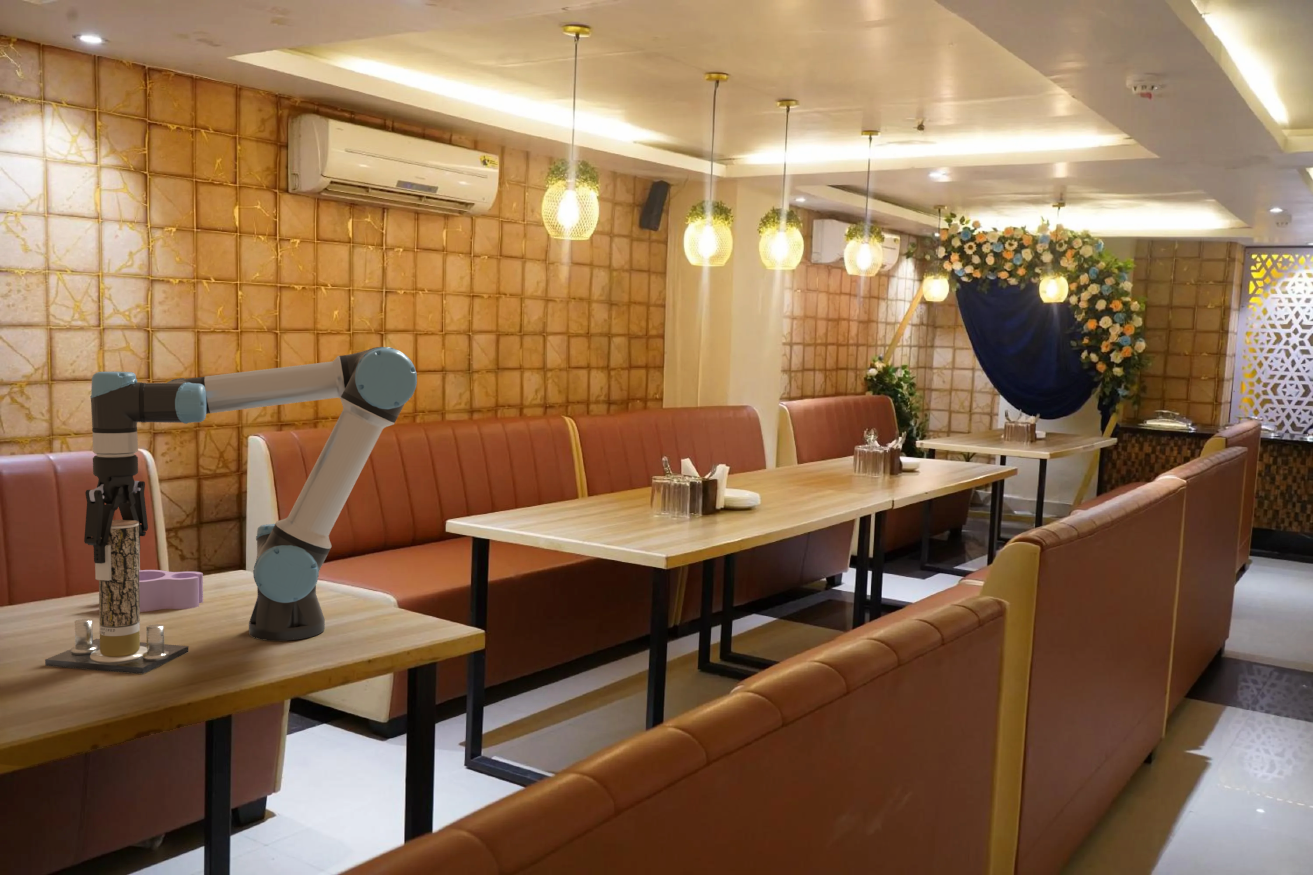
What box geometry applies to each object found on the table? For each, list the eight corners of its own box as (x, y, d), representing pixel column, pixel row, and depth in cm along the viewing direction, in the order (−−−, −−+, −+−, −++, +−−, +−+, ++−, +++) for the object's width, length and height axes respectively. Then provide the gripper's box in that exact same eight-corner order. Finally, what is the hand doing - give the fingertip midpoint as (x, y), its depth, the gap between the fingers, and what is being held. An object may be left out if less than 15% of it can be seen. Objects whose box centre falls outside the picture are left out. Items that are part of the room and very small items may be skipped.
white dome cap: (160, 648, 206) (160, 647, 206) (126, 664, 196) (126, 662, 196) (113, 645, 207) (113, 643, 207) (77, 660, 198) (77, 658, 198)
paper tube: (123, 659, 198) (122, 526, 195) (91, 656, 199) (89, 524, 197) (147, 649, 204) (146, 521, 202) (116, 646, 206) (115, 518, 203)
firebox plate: (188, 652, 208) (188, 646, 208) (142, 674, 194) (142, 667, 194) (96, 644, 211) (96, 638, 211) (45, 665, 198) (45, 659, 198)
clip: (207, 598, 250) (207, 569, 250) (193, 611, 238) (193, 581, 237) (117, 599, 247) (116, 570, 246) (98, 613, 235) (97, 582, 234)
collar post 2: (173, 654, 202) (172, 624, 202) (159, 661, 198) (158, 630, 197) (152, 653, 203) (151, 622, 202) (137, 659, 199) (137, 628, 198)
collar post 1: (102, 649, 205) (101, 618, 204) (86, 655, 200) (85, 624, 200) (82, 647, 205) (81, 617, 205) (65, 653, 201) (65, 622, 200)
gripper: (132, 448, 209) (135, 562, 211) (58, 459, 189) (61, 585, 191) (167, 449, 207) (169, 564, 210) (96, 461, 187) (99, 588, 190)
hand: (118, 574), depth 200 cm, fingers open, 7 cm apart
